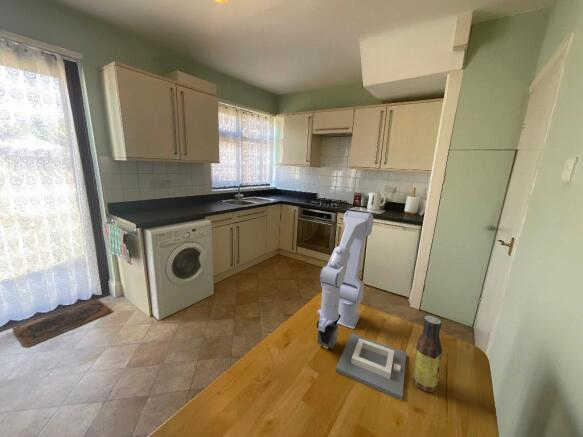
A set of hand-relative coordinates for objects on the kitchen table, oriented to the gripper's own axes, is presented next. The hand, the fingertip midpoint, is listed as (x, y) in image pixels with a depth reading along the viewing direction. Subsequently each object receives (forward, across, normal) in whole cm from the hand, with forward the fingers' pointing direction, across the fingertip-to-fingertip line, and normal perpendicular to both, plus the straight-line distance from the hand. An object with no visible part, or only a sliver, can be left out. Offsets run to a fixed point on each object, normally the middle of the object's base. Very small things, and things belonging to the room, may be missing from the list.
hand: (327, 338), depth 80 cm
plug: (+3, 0, 0) cm, 3 cm away
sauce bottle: (+3, 0, +29) cm, 29 cm away
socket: (+3, 0, +15) cm, 15 cm away
